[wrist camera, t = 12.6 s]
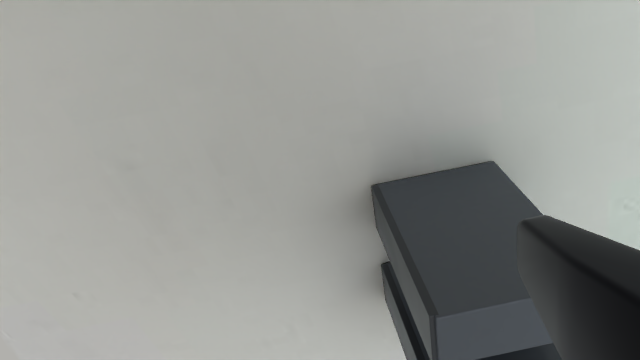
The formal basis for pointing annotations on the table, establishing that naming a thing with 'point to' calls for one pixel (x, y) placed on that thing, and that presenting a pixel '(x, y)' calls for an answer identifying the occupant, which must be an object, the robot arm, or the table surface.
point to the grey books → (458, 266)
